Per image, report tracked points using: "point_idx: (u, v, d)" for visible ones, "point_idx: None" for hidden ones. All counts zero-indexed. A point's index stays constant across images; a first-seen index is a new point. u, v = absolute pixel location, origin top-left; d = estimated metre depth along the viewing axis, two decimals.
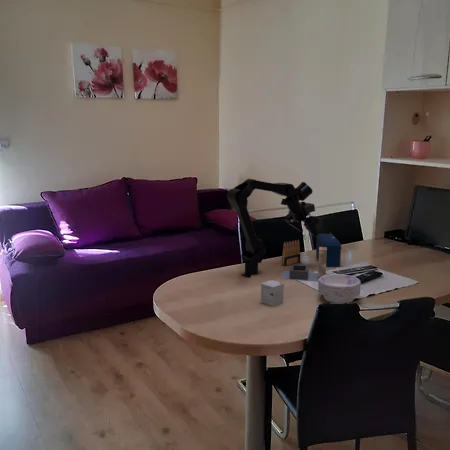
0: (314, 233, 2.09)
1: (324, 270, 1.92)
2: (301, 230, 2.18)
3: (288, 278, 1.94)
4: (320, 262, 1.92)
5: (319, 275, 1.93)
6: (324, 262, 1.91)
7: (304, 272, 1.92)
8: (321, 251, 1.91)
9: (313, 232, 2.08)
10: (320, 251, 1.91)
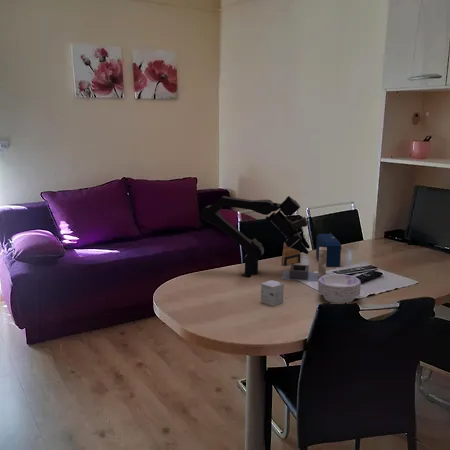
0: (304, 251, 1.90)
1: (324, 270, 1.92)
2: (307, 246, 1.99)
3: (288, 278, 1.94)
4: (320, 262, 1.92)
5: (319, 275, 1.93)
6: (324, 262, 1.91)
7: (304, 272, 1.92)
8: (321, 251, 1.91)
9: (301, 250, 1.89)
10: (320, 251, 1.91)
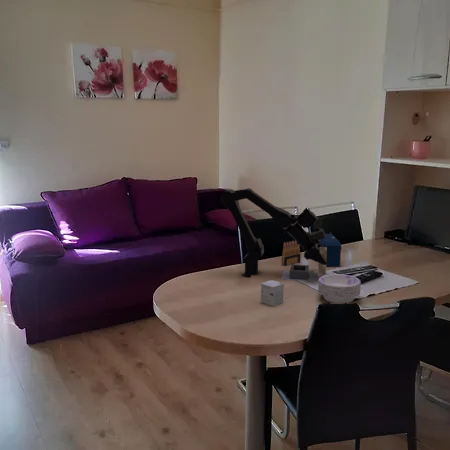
0: (322, 262, 1.91)
1: (324, 270, 1.92)
2: None
3: (288, 278, 1.94)
4: None
5: (319, 275, 1.93)
6: None
7: (304, 272, 1.92)
8: (321, 251, 1.91)
9: (319, 261, 1.91)
10: (320, 251, 1.91)
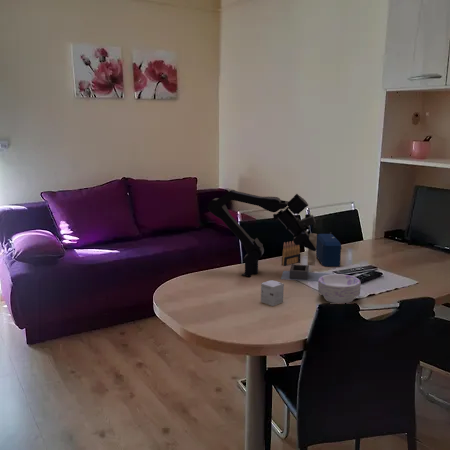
0: (312, 248, 1.91)
1: (314, 256, 1.92)
2: None
3: (288, 278, 1.94)
4: None
5: (309, 261, 1.93)
6: None
7: (304, 272, 1.92)
8: (311, 237, 1.91)
9: (309, 247, 1.91)
10: (310, 237, 1.91)
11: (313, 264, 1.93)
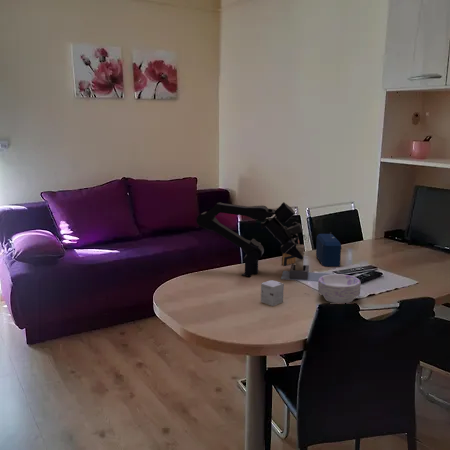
0: (299, 256, 1.92)
1: (301, 267, 1.94)
2: None
3: (288, 278, 1.94)
4: (297, 259, 1.94)
5: None
6: None
7: (304, 272, 1.92)
8: (298, 248, 1.93)
9: (296, 256, 1.91)
10: (297, 248, 1.93)
11: None
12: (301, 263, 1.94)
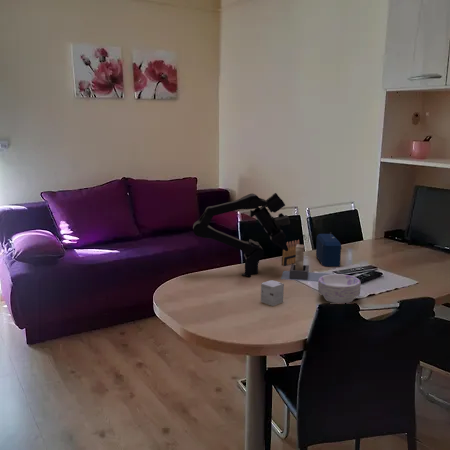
0: (285, 248, 1.96)
1: (301, 267, 1.94)
2: None
3: (288, 278, 1.94)
4: (297, 259, 1.94)
5: None
6: (301, 259, 1.93)
7: (304, 272, 1.92)
8: (298, 248, 1.93)
9: (283, 247, 1.95)
10: (297, 248, 1.93)
11: None
12: (301, 263, 1.94)
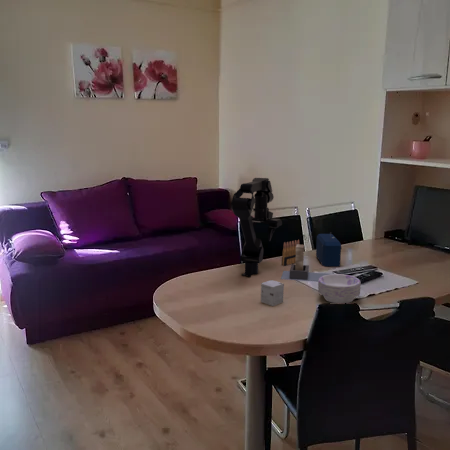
0: (270, 237, 2.08)
1: (301, 267, 1.94)
2: None
3: (288, 278, 1.94)
4: (297, 259, 1.94)
5: None
6: (301, 259, 1.93)
7: (304, 272, 1.92)
8: (298, 248, 1.93)
9: (270, 235, 2.07)
10: (297, 248, 1.93)
11: None
12: (301, 263, 1.94)
